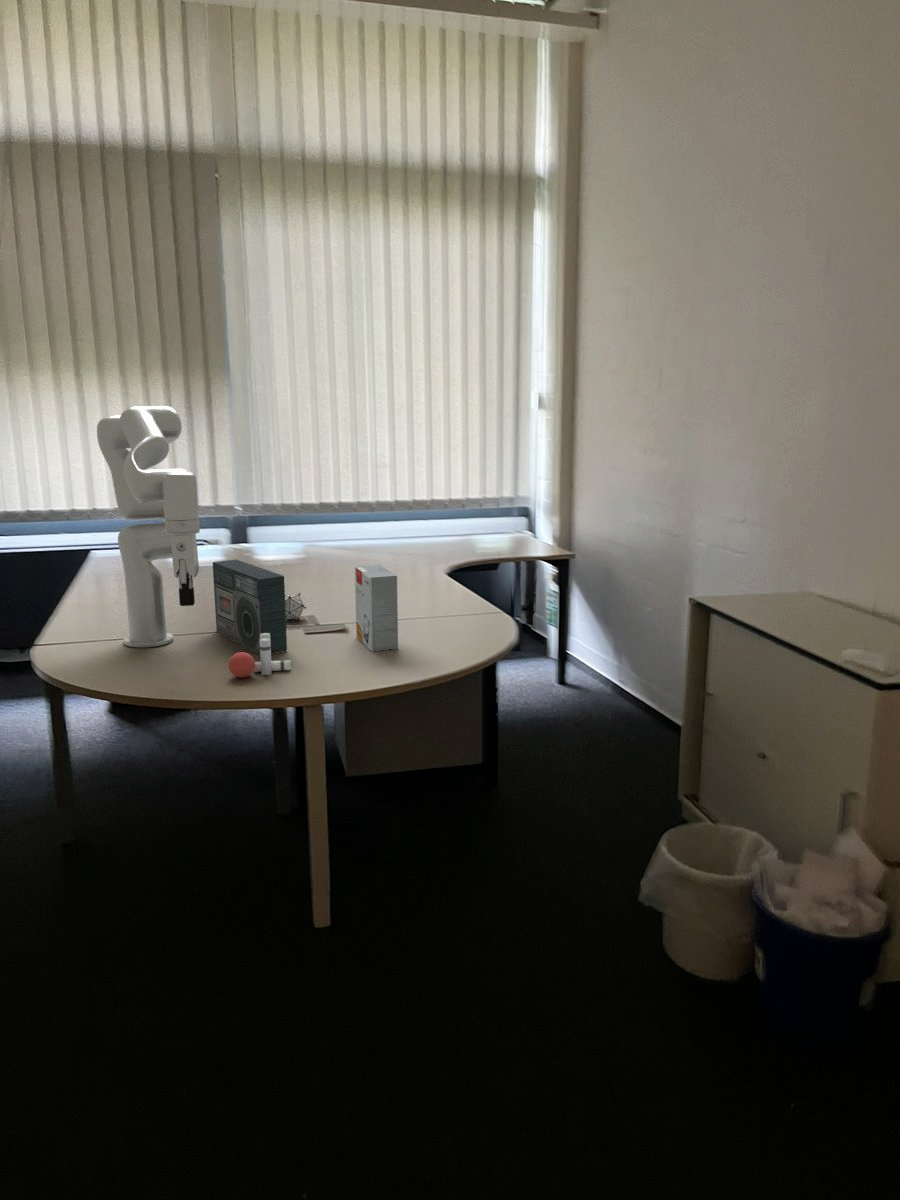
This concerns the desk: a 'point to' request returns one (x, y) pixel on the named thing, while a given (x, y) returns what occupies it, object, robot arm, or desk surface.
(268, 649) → the back right pin
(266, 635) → the back left pin
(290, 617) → the game die
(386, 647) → the hard drive box
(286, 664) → the front pin
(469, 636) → the desk surface
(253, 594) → the cassette player
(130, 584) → the robot arm
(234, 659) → the ball
